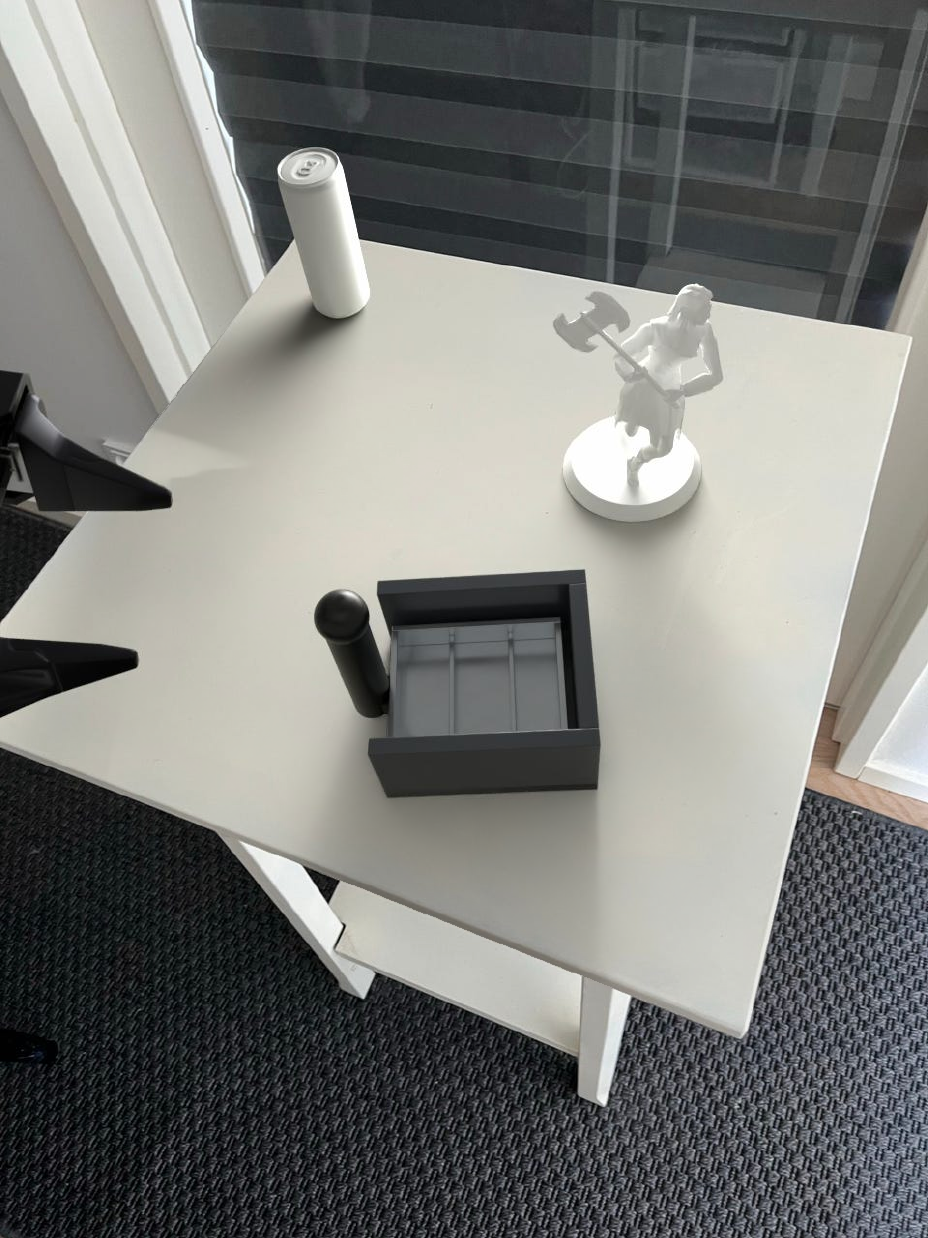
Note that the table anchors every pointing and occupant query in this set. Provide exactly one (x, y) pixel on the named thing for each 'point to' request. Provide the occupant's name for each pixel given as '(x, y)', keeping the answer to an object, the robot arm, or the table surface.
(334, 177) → the beverage can
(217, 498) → the table surface
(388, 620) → the grey drawer case
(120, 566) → the table surface
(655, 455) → the figurine
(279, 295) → the table surface
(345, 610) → the pull-out drawer
